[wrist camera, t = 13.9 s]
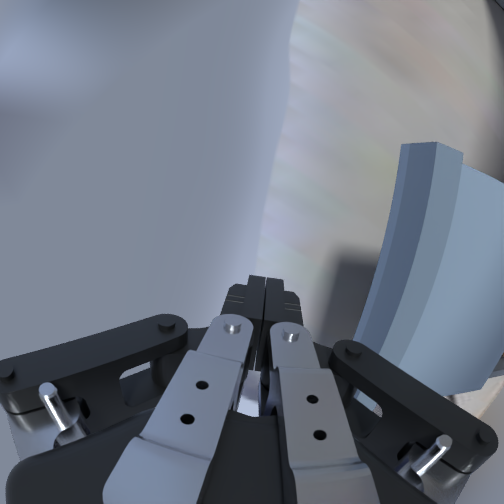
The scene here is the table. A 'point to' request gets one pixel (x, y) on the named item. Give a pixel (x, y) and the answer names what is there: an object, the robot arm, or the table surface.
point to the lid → (439, 274)
